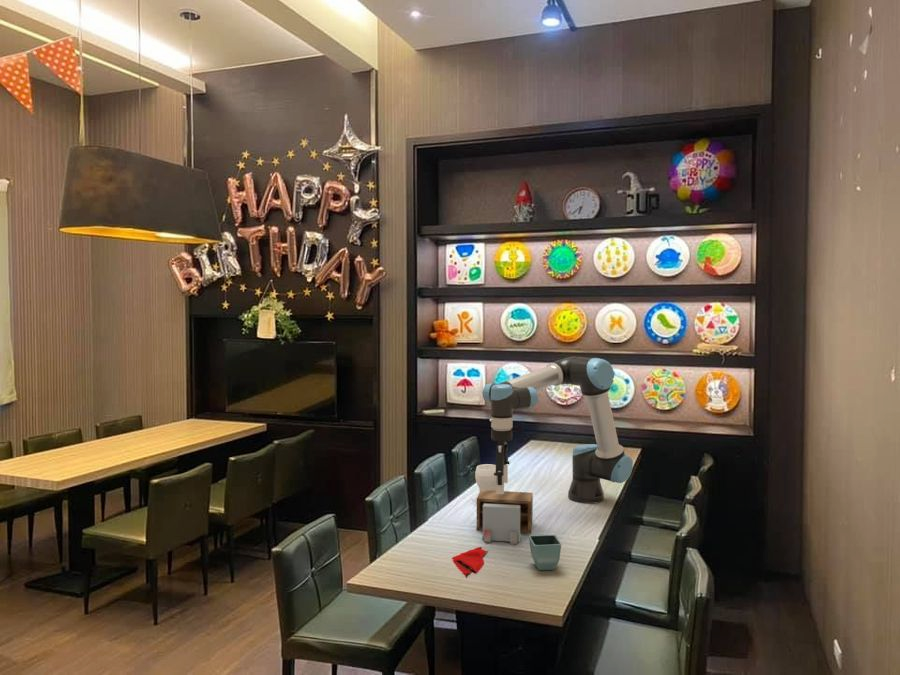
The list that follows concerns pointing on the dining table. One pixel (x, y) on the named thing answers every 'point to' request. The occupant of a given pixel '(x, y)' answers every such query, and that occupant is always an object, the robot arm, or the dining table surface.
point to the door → (501, 521)
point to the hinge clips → (488, 540)
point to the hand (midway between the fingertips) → (501, 488)
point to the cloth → (470, 560)
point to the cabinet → (507, 499)
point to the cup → (486, 477)
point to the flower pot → (545, 551)
